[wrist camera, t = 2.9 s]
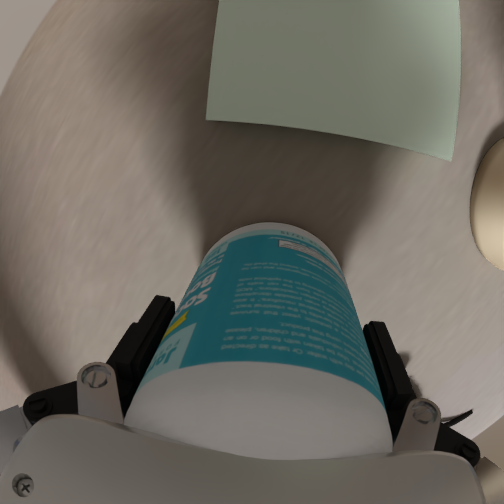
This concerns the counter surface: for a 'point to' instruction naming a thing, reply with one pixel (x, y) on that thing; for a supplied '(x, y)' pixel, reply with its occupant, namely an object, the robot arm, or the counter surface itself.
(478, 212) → the bobbin
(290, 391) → the pill bottle
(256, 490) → the robot arm
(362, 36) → the board
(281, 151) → the counter surface
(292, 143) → the counter surface
